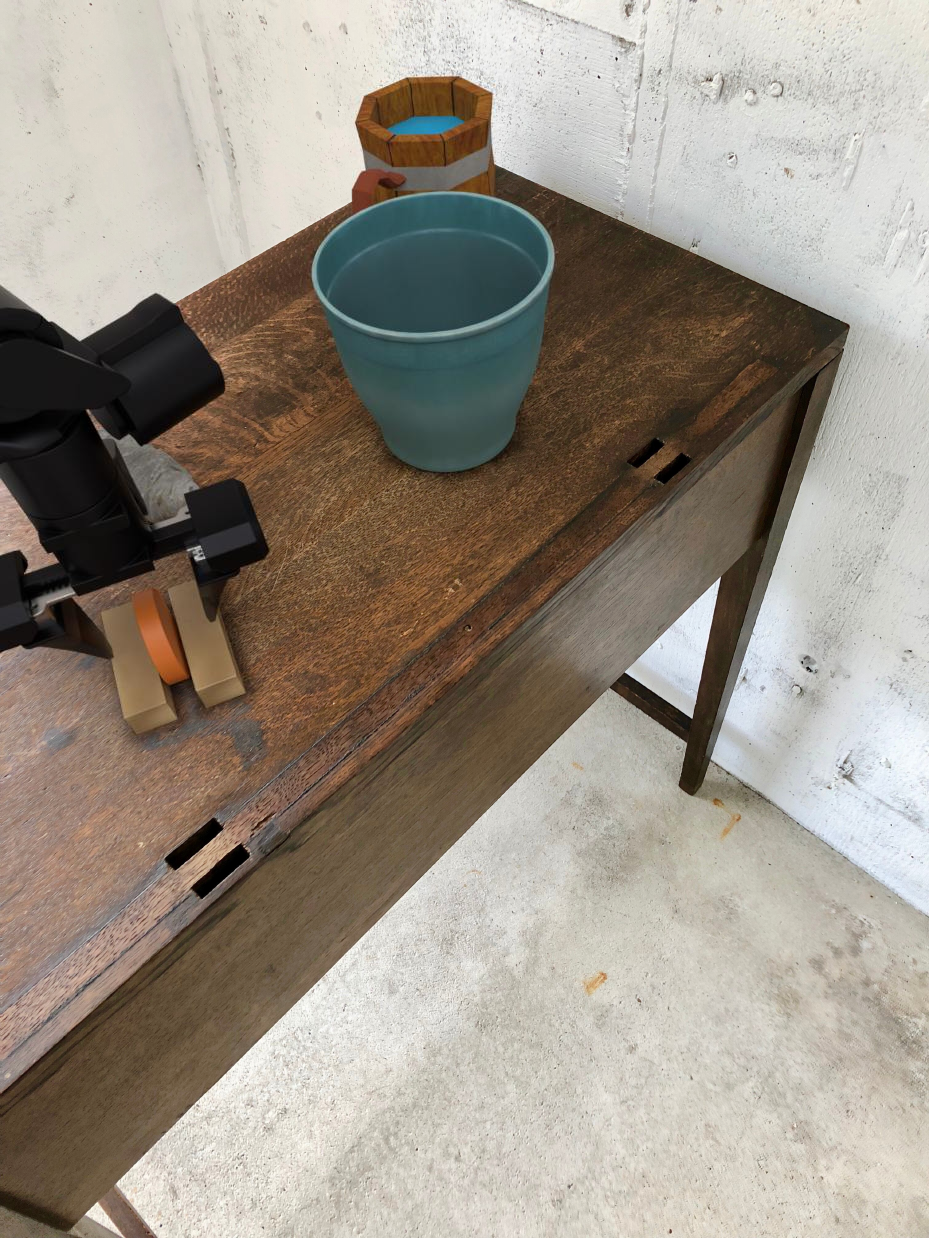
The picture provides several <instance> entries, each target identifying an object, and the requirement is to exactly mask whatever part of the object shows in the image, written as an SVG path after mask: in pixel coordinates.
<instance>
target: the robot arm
mask: <svg viewBox="0 0 929 1238" xmlns="http://www.w3.org/2000/svg"><path fill="white" fill-rule="evenodd" d="M225 391H226V381H225V377H224V374H223V371H222V368H221V366H220V364H219V363H218V361H216V359H214V358H212V355H211V354H210V352H209V351H208V349H207V347H206V346H205V344H204V343H203V342H202V340H201V339H200V337H199V336H198V334H197V333H196V332H195V331H194V330H193V329H192V327H190V326H189V324H188V323H187V322H186V321H185V319H184V317H183V314H182V311H181V308H180V306H178V305H177V304H176V303H174V302H173V301H171V300H170V299H168V298H166V297H165V296H163V295H162V294H161V293H157V292H154V293H153V294H151V295H149V296H147V297H146V298H143V299H142V300H141V301H139V302H138V303H137V304H135V306H134V307H132V308H131V309H130V310H129V311H128V312H127V313H125V314H123V315H121V316H120V317H118V318H116V319H115V320H113V321H111V322H110V323H108V324H106V325H105V326H103V327H101V328H100V329H98V330H96V331H94V332H93V333H91V334H89V335H88V336H86V337H84V338H82V339H81V340H79V339H78V338H76V337H75V336H73V334H71V333H69V332H68V331H67V330H66V329H64V328H63V327H62V326H60V325H59V324H57V323H56V322H54V321H52V320H50V321H49V320H48V319H46V317H44V316H43V315H42V314H41V313H40V312H38V311H37V310H36V309H34V308H33V307H32V306H30V305H28V304H27V303H26V302H25V301H23V300H22V299H20V298H19V297H18V296H16V295H15V294H13V293H12V292H11V291H10V290H8V289H7V288H6V287H4V286H3V285H2V284H0V480H1V482H2V483H3V485H4V486H5V487H6V489H7V490H8V492H9V493H10V494H11V496H12V498H13V499H14V500H15V502H16V503H17V505H18V506H19V507H20V509H21V510H22V512H23V513H24V514H25V516H26V517H27V519H28V520H29V522H30V523H31V524H32V526H33V527H34V529H35V530H36V532H37V536H38V541H39V544H40V546H41V547H42V548H43V550H44V551H45V553H46V554H47V555H50V554H52V555H53V556H54V558H55V559H56V560H57V562H56V563H53V564H50V565H47V566H44V567H41V568H38V569H35V570H33V571H29V572H27V569H28V568H29V561H28V558H27V557H26V556H25V554H24V553H23V552H22V551H21V549H16V550H12V551H8V552H6V553H2V554H0V654H1V653H4V652H7V651H10V650H12V649H13V650H14V649H15V648H18V647H21V648H23V649H24V650H29V651H30V650H33V649H36V648H47V649H53V650H62V651H69V652H75V653H78V654H84V655H86V656H91V657H96V658H99V659H103V660H108V661H109V660H111V659H112V658H114V655H113V650H112V647H111V645H110V644H109V642H108V640H107V638H106V634H105V633H104V632H103V631H102V629H100V628H99V627H98V626H97V624H96V623H95V622H94V621H93V619H91V617H90V616H89V615H88V614H87V613H86V612H85V610H84V609H83V608H82V607H81V606H80V605H79V604H78V603H77V601H76V600H75V599H74V597H77V598H80V597H82V596H85V595H88V594H90V593H93V592H97V591H99V590H102V589H105V588H108V587H111V586H114V585H117V584H119V583H123V582H126V581H128V580H131V579H134V578H136V577H140V576H142V575H145V574H148V573H151V572H153V571H156V567H155V563H154V562H156V561H159V560H162V559H165V558H168V557H170V556H174V555H177V554H180V553H182V552H185V551H186V553H187V556H188V559H189V563H190V567H191V570H192V574H193V577H194V579H195V581H196V585H197V588H198V592H199V595H200V599H201V602H202V605H203V608H204V612H205V615H206V617H207V619H208V620H209V621H210V622H214V621H216V616H217V610H218V607H219V604H220V600H221V598H222V597H221V596H222V594H223V592H224V590H225V587H226V585H227V584H228V581H229V580H231V579H233V578H236V577H237V576H238V575H239V574H240V573H241V570H242V568H244V567H247V566H250V565H253V564H256V563H258V562H262V561H264V560H265V559H266V558H267V556H268V555H269V553H270V547H269V544H268V542H267V539H266V537H265V534H264V531H263V529H262V526H261V523H260V521H259V518H258V516H257V513H256V510H255V507H254V505H253V503H252V500H251V497H250V494H249V492H248V490H247V487H246V484H245V482H243V481H241V480H239V479H237V478H235V477H230V478H227V479H223V480H220V481H218V482H215V483H212V484H208V485H206V486H203V487H199V488H200V489H197V490H194V491H191V492H188V493H185V494H184V497H185V500H186V504H187V505H186V506H184V507H182V508H181V509H180V510H179V511H178V513H177V516H176V517H174V518H171V519H168V520H165V521H162V522H159V523H156V524H154V523H152V524H150V525H149V523H148V521H146V520H145V518H144V516H147V515H148V511H147V507H146V504H145V501H144V500H143V498H142V496H141V494H140V492H139V490H138V488H137V486H136V484H135V483H134V480H133V478H132V476H131V475H130V472H129V470H128V468H127V466H126V464H125V462H124V459H123V457H122V455H121V453H120V451H119V449H118V447H117V444H116V442H115V440H114V439H111V438H107V439H102V438H101V437H100V435H99V433H98V431H97V430H98V429H97V428H96V425H95V424H94V421H93V420H92V418H91V417H90V414H91V415H92V417H93V418H94V419H95V420H96V421H97V423H98V424H99V425H100V426H101V427H102V429H103V428H104V429H105V430H106V431H107V432H108V433H109V434H110V435H111V436H112V437H114V438H115V439H117V440H121V439H123V438H124V437H126V436H127V435H128V434H129V435H130V436H131V437H132V438H134V440H135V441H136V442H137V443H138V444H139V445H140V446H141V447H142V446H144V445H147V444H148V443H150V444H151V442H153V441H155V440H156V439H158V438H159V437H161V436H162V435H163V434H165V433H167V432H169V431H170V430H171V429H173V428H174V427H176V426H178V425H179V424H180V423H182V422H183V421H185V420H186V419H188V418H189V417H191V416H193V414H195V413H197V412H198V411H199V410H201V409H203V408H204V407H206V406H207V405H209V404H211V403H212V402H214V401H215V400H216V399H218V398H219V397H221V396H222V395H224V394H225ZM87 410H88V411H89V412H90V414H89V413H88V411H87ZM26 572H27V573H26Z"/></svg>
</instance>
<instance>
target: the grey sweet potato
mask: <svg viewBox="0 0 929 1238" xmlns="http://www.w3.org/2000/svg"><path fill="white" fill-rule="evenodd" d="M97 431H98V433H99V435H100V437H101V438H102V439H107V438H111V439H114V440H115V442H116V444H117V447H118V449H119V451H120V453H121V455H122V457H123V459H124V462H125V464H126V466H127V468H128V470H129V472H130V475H131V476H132V478H133V480H134V483H135V484H136V486H137V488H138V490H139V492H140V494H141V496H142V498H143V500H144V501H145V504H146V507H147V511H148V515H147V516H144V518H145V520H146V521H147V522H150V523H152V524H156V523H159V522H162V521H165V520H168V519H171V518H174V517H176V516H177V513H178V511H179V510H180V509H181V508H182V507H184V506H186V505H187V504H186V500H185V497H184V494H185V493H188V492H191V491H194V490H197V489H200V488H201V487H200V486H199V485H198V484H197V483H196V482H195V481H194V479H193V476H192V475H191V474H190V472H189V471H188V470H186V468H185V467H183V466H182V465H181V464H180V462H178V461H176V460H175V458H173V457H172V456H170V454H168V453H166V452H164V451H163V450H161V449H156V448H155V447H154V446H153V445H152V444H151V442H150V443H148V444H147V445H144V446H142V447H141V446H140V445H139V444H138V443H137V442H136V441H135V440H134V438H132V437H131V436H130V435H129V434H128V435H127V436H126V437H124V438H123V439H121V440H117V439H115V438H114V437H112V436H111V435H110V434H109V433H108V432H107V431H106V430H105V429H104V428H103V427H102V428H99V429H97Z"/></svg>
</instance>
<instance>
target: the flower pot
mask: <svg viewBox="0 0 929 1238" xmlns="http://www.w3.org/2000/svg"><path fill="white" fill-rule="evenodd" d="M555 259H556V257H555V246H554V244H553V240H552V238H551V236H550V234H549V232H548V230H547V229H546V228H545V227H544V225H543V224H542V223H541V222H540V221H539V219H537V218H536V217H535V216H533V214H531V213H530V212H529V211H527V210H525V209H524V208H522V207H520V206H518V205H516V204H514V203H511V202H510V201H507V200H503V199H501V198H496V197H495V196H494V197H490V196H486V195H481V194H476V193H468V192H455V191H439V192H426V193H418V194H412V195H406V196H401V197H397V198H394V199H390V200H387V201H384V202H381V203H378V204H376V205H373V206H371V207H369V208H366V209H364V210H362V211H360V212H358V213H356V214H355V215H351V216H350V217H348V218H346V219H345V220H344V221H342V222H341V223H340V224H338V225H337V226H336V227H335V228H333V229H332V230H331V232H329V233H328V234H327V236H326V237H325V238H324V240H323V241H322V242H321V244H319V246H318V248H317V250H316V252H315V255H314V257H313V261H312V266H311V282H312V286H313V289H314V292H315V295H316V297H317V298H318V301H319V303H320V304H321V306H322V309H323V313H324V315H325V318H326V322H327V324H328V326H329V328H330V331H331V334H332V338H333V341H334V344H335V347H336V350H337V353H338V356H339V359H340V362H341V364H342V366H343V369H344V373H345V374H346V376H347V379H348V381H349V383H350V384H351V387H352V388H353V390H354V392H355V394H356V396H357V397H358V399H359V400H360V402H361V403H362V405H363V406H364V408H366V411H368V413H369V414H370V415H371V416H372V418H373V420H374V421H375V423H376V424H377V425H378V427H379V428H380V430H381V435H382V438H383V441H384V443H385V445H386V447H387V448H388V449H389V451H390V452H391V453H392V454H393V455H394V456H395V457H396V458H398V459H399V460H400V461H401V462H403V463H405V464H407V465H409V466H411V467H414V468H416V469H419V470H424V471H428V472H435V473H455V472H462V471H466V470H470V469H473V468H476V467H479V466H482V465H483V464H486V463H487V462H489V461H490V460H492V459H493V458H495V457H496V456H498V454H500V453H501V452H502V451H503V450H504V449H505V448H506V447H507V445H508V444H509V443H510V441H511V439H512V438H513V435H514V432H515V429H516V426H517V425H516V424H517V415H518V413H519V411H520V407H521V405H522V403H523V400H524V398H525V397H526V394H527V392H528V390H529V388H530V385H531V382H532V380H533V377H534V375H535V372H536V368H537V365H538V362H539V358H540V354H541V353H540V352H541V349H542V342H543V336H544V329H545V319H546V308H547V304H548V301H549V300H548V299H549V291H550V281H551V279H552V277H553V273H554V269H555Z"/></svg>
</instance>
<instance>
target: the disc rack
mask: <svg viewBox="0 0 929 1238" xmlns="http://www.w3.org/2000/svg"><path fill="white" fill-rule="evenodd" d="M167 593H168V598H169V600H170V604H171V607H172V611H173V615H174V618H175V623H176V627H177V629H178V632H179V634H180V637H181V640H182V644H183V647H184V651H185V654H186V658H187V661H188V665H189V669H190V672H191V676H190V677H191V679H192V682H193V686H194V689H195V692H196V694H197V695H198V697H199V699H200V700H201V702H202V704H203V705H204V707H205V708H206V709H208V708H211V707H214V706H216V705H219V704H222V703H224V702H227V701H229V700H232V699H234V698H237V697H239V696H242V695H245V694H246V693H247V692H246V688H245V684H244V681H243V679H242V675H241V673H240V670H239V666H238V663H237V661H236V656H235V654H234V651H233V647H232V645H231V641H230V638H229V635H228V632H227V629H226V626H225V623H224V619H223V616H222V613H221V610H220V607H219V606H218V610H217V616H216V621H214V622H210V621H209V620H208V619H207V617H206V615H205V612H204V608H203V605H202V602H201V599H200V595H199V592H198V588H197V585H196V581H195V578H194V579H192V580H189V581H186V582H183V583H180V584H177V585H174V586H172V587H169V588H167ZM100 615H101V619H102V624H103V629H104V634H105V637H106V639H107V640H108V642H109V644H110V645H111V647H112V650H113V655H114V658H112V659H110V661H111V665H112V669H113V674H114V679H115V683H116V688H117V693H118V698H119V702H120V706H121V711H122V716H123V719H124V721H126V723H127V724H128V725H129V727H130V728H131V729H132V731H134V733H135V734H136V735H137V736H138V735H141V734H143V733H146V732H150V731H151V730H154V729H157V728H159V727H162V726H164V725H167V724H169V723H172V722H174V721H177V720H178V719H179V718H178V714H177V709H176V706H175V701H174V699H173V694H172V691H171V687H170V685H168V684H167V683H166V682H165V681H164V680H163V678H162V677H161V675H160V674H159V672H158V670H157V669H156V667H155V665H154V663H153V661H152V659H151V657H150V655H149V652H148V650H147V648H146V645H145V643H144V640H143V638H142V635H141V632H140V630H139V627H138V624H137V620H136V617H135V613H134V609H133V603H132V601H129V602H126V603H124V604H121V605H117V606H115V607H112V608H110V609H106V610H103V611H101V612H100Z"/></svg>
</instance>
